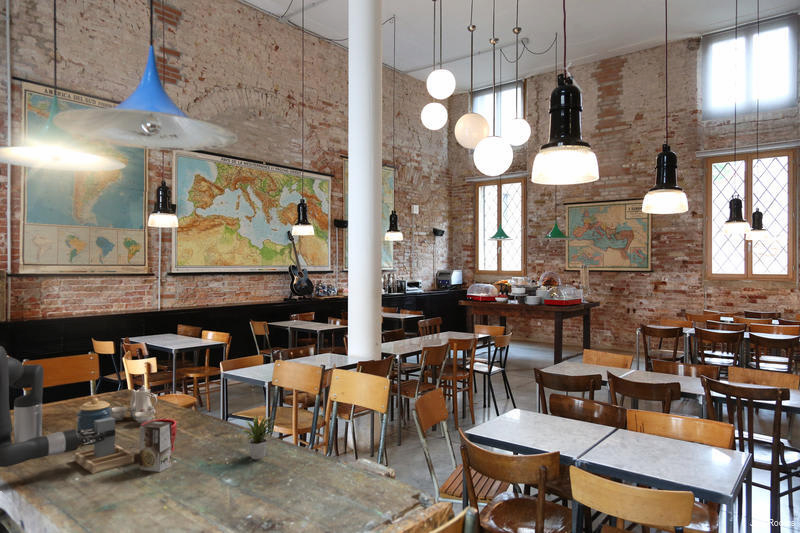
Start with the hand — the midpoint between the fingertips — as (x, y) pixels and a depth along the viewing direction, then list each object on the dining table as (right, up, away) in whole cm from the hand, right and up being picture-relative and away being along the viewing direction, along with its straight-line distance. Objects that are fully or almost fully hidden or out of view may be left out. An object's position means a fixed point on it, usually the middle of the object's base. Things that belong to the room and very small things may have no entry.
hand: (112, 431), depth 195 cm
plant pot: (+14, -11, +7) cm, 19 cm away
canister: (-20, -11, +23) cm, 32 cm away
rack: (-2, -11, -2) cm, 11 cm away
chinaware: (-16, -11, +50) cm, 54 cm away
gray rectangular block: (-2, -8, -2) cm, 8 cm away
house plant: (+54, -12, +3) cm, 56 cm away
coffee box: (+20, -11, -7) cm, 24 cm away
